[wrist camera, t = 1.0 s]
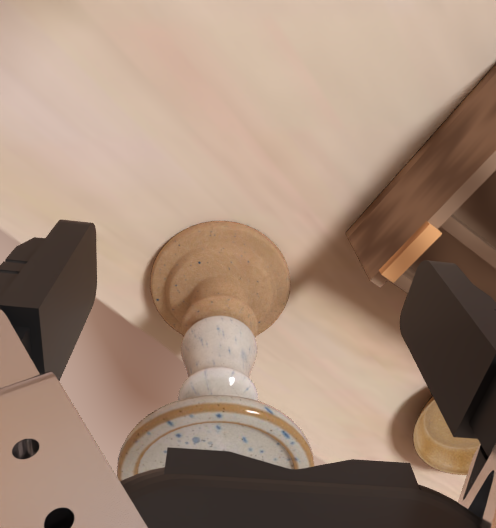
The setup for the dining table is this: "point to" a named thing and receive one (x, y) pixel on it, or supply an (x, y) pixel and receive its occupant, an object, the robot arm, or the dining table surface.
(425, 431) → the plant saucer
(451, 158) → the slotted rack
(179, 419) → the candle holder
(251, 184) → the dining table surface
